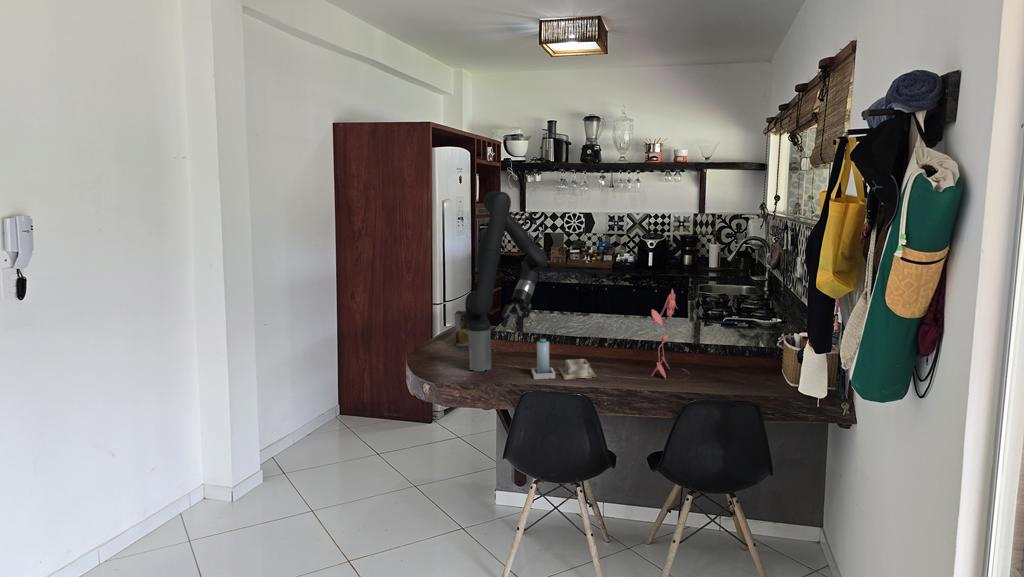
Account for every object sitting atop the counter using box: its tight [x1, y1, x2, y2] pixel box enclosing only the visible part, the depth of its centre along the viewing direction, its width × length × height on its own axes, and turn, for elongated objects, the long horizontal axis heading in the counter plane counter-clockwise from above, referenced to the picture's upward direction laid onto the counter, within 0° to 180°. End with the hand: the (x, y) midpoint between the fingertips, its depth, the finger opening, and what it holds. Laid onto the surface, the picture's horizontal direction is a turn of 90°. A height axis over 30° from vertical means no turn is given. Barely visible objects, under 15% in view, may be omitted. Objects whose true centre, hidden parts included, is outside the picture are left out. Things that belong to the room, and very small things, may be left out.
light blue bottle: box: [536, 338, 550, 374], centre depth 288 cm, size 5×5×15 cm
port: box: [558, 358, 597, 380], centre depth 290 cm, size 13×13×5 cm
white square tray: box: [531, 367, 556, 380], centre depth 289 cm, size 9×9×2 cm
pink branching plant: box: [646, 288, 690, 381], centre depth 284 cm, size 15×26×35 cm, turn 157°
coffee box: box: [454, 310, 469, 347], centre depth 341 cm, size 9×6×16 cm
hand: (510, 326), depth 293 cm, fingers open, 8 cm apart
